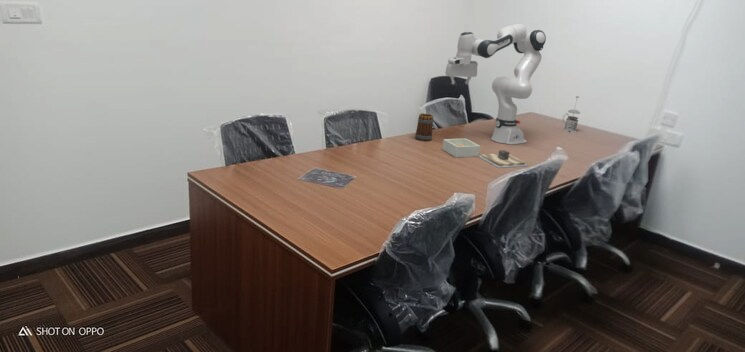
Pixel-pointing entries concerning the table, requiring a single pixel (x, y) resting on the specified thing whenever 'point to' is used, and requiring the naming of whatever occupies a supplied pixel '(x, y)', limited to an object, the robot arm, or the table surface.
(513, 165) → the mat
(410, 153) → the table surface
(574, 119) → the french press
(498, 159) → the lid
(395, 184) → the table surface
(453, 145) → the pale green open box
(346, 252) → the table surface
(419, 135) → the mug
